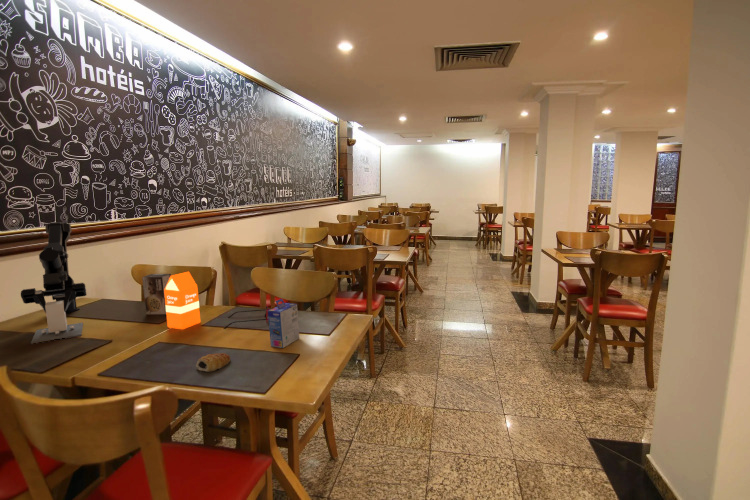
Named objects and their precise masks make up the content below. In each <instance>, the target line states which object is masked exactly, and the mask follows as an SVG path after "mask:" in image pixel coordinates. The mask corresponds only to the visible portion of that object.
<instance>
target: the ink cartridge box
mask: <svg viewBox="0 0 750 500" xmlns="http://www.w3.org/2000/svg"><path fill="white" fill-rule="evenodd" d="M274 302H275V304H276V306H275V307H274V308H271V309H270V310H268V316H267V319H268V320H267V321H268V329H269V330H268V331H269V339H270V340H269V341H270V346H271V347H272V348H273V347H274V348H280V349H284V348H286V347H287V346H289V345H290V344H292V343H294V342H295V341H297V340H299V339H300V328H299V313H298V304H297V303H289V302H284V299H283V298H280V299H278V300H275V301H274ZM280 302H281V303H280ZM279 303H280V304H279Z"/></svg>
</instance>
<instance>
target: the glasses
mask: <svg viewBox="0 0 750 500" xmlns="http://www.w3.org/2000/svg"><path fill="white" fill-rule="evenodd" d="M269 310H271V309H270V308H268V304H267V305H265V309H253V310H241V311H239V310H238V311H235V312H234V313H232V314H231V315H229V316H228V317H227V318H228V319H230V318H231V317H232V316H234V315H235V314H238V313H249V312H260V311H261V312H263V311H265V313H264V318H262V319H249V320H238V321H237V320H235V321H231V322H229V323H228V324H227V325H226V326H225V327H223V330H225V329H227V328H228V327H230V325H232V324H235V323H243V322H245V323H246V322H258V321H265V322H266V323H268V321H269V320H268V311H269Z"/></svg>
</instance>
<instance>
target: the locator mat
mask: <svg viewBox="0 0 750 500" xmlns="http://www.w3.org/2000/svg"><path fill="white" fill-rule="evenodd" d="M71 325H74V330H70V326H71ZM83 327H84V323H83V322H76V323H72V324H71V323H70V324H67V329H66V330H63V331H59V334H60V335H58V336H55V332H51V333H49V330H48V327H45V328H40V329H36V331H35V333H34V335H33V337H32V339H31V341H30V344H31V343H36V342H41V341H47V340H54V339H60V340H63V339H62V338H65V339H70V338H77V337H82V333H83ZM42 330H46V334H45V335H42ZM54 341H55V340H54ZM36 344H37V343H36Z"/></svg>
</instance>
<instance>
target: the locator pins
mask: <svg viewBox="0 0 750 500" xmlns="http://www.w3.org/2000/svg"><path fill="white" fill-rule="evenodd" d="M70 330H74V325H71V326H70ZM45 334H46V330H42V335H45ZM58 335H60V334H59V331H55V336H58Z"/></svg>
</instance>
